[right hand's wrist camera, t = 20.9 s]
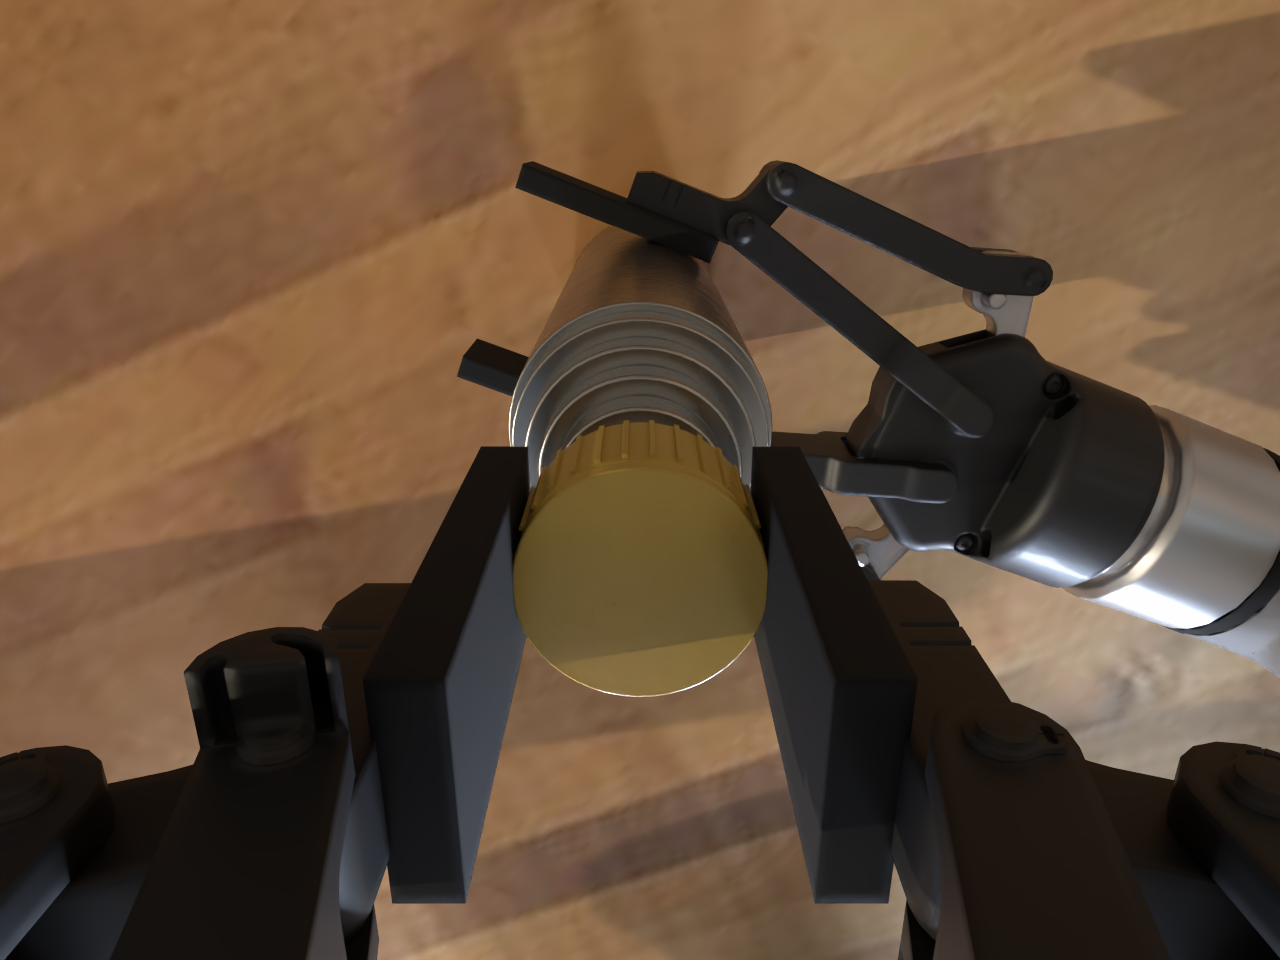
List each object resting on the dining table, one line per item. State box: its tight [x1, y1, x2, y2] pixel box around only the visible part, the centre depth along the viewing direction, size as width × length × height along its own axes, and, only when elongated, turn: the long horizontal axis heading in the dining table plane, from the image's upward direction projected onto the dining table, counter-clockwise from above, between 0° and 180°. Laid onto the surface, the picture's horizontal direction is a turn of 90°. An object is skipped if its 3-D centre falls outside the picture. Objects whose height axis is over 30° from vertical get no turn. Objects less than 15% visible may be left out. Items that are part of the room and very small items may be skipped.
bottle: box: [508, 226, 772, 490], centre depth 25 cm, size 6×6×25 cm
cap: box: [513, 420, 768, 697], centre depth 14 cm, size 4×4×2 cm
